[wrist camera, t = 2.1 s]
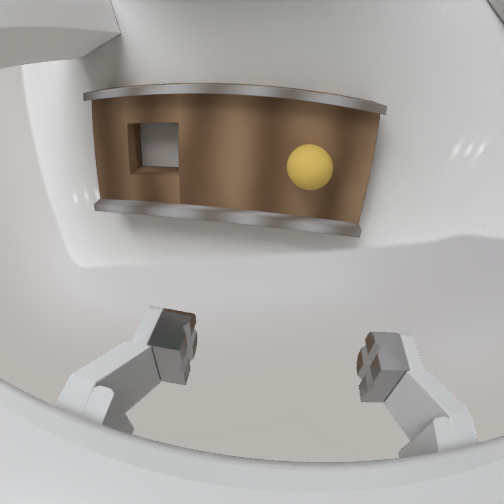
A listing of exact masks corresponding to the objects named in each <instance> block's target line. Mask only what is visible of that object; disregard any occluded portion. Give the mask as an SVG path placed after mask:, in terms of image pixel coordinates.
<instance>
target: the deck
mask: <svg viewBox="0 0 504 504" xmlns="http://www.w3.org/2000/svg"><path fill="white" fill-rule="evenodd" d="M83 100H84V101H86V100H92V119H93V134H94V146H95V157H96V167H97V175H98V183H99V191H100V198H101V199H100V200H98V201H97V202H96V203H95V204H94V207H95V211H105V212H118V213H131V214H143V215H155V216H166V217H177V218H188V219H199V220H209V221H219V222H229V223H239V224H248V225H257V226H267V227H276V228H284V229H293V230H302V231H310V232H318V233H327V234H335V235H343V236H350V237H358V238H359V237H360V234H361V229H360V226H359V224H358V223H359V219H360V215H361V211H362V206H363V202H364V198H365V193H366V189H367V184H368V179H369V174H370V170H371V165H372V160H373V154H374V149H375V144H376V138H377V132H378V126H379V120H380V114H383V115H386V109H387V106H385V105H382V104H379V103H376V102H373V101H368V100H363V99H358V98H353V97H348V96H342V95H337V94H331V93H324V92H318V91H310V90H303V89H295V88H286V87H275V86H264V85H249V84H228V83H173V84H152V85H138V86H127V87H117V88H108V89H102V90H97V91H92V92H87V93H83ZM140 123H179V167H155V166H142V159H141V138H140ZM306 144H312V145H317V146H319V147H321V148H323V149H324V150H325V151H326V152H327V153H328V154H329V156H330V157H331V160H332V163H333V173H332V176H331V178H330V180H329V181H328V183H327V184H326V185H324V186H323V187H321V188H319V189H316V190H305V189H302V188H300V187H298V186H296V185H295V184H294V183H293V182H292V181H291V179H290V178H289V175H288V172H287V161H288V158H289V156H290V154H291V153H292V152H293V151H294V150H295V149H296V148H298V147H300V146H302V145H306Z"/></svg>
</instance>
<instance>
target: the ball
mask: <svg viewBox="0 0 504 504" xmlns="http://www.w3.org/2000/svg"><path fill="white" fill-rule="evenodd" d="M287 172H288V175H289V178H290V179H291V181H292V182H293V183H294V184H295V185H296V186H298V187H300V188H302V189H305V190H316V189H319V188H321V187H323V186H324V185H326V184H327V183H328V181H329V180H330V178H331V176H332V173H333V163H332V160H331V157H330V156H329V154H328V153H327V152H326V151H325V150H324V149H323V148H321V147H319V146H317V145H312V144H306V145H302V146H300V147H298V148H296V149H295V150H294V151H293V152H292V153H291V154H290V156H289V158H288V161H287Z"/></svg>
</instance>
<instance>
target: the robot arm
mask: <svg viewBox="0 0 504 504" xmlns="http://www.w3.org/2000/svg"><path fill="white" fill-rule="evenodd" d="M488 1H489V2H490V4H491V5H492V7H493V8H494V9H495V11H496V12H497V14H498V15H499V16H500V18H501V19H502V20H503V22H504V0H488ZM195 324H196V316H195V314H193V313H187V312H182V311H177V310H171V309H166V308H159V307H155V306H150V307H149V308H148V309H147V310H146V312H145V314H144V316H143V318H142V320H141V322H140V324H139V326H138V328H137V330H136V332H135V334H134V336H133V338H132V340H131V341H125V342H124V343H122V344H120V345H119V346H117V347H115V348H114V349H112V350H110V351H109V352H107V353H106V354H104V355H102V356H101V357H99V358H97V359H96V360H94V361H93V362H91V363H89V364H88V365H86V366H84V367H83V368H81V369H80V370H78V371H76V372H74V373H73V374H71V376H70V378H69V380H68V381H67V383H66V385H65V387H64V389H63V391H62V393H61V395H60V397H59V399H58V400H57V402H56V404H55V406H53V405H51V404H49V403H47V402H45V401H43V400H41V399H39V398H36V397H34V396H32V395H30V394H28V393H26V392H24V391H22V390H21V389H19V388H17V387H15V386H13V385H11V384H9V383H7V382H5V381H4V380H2V379H0V504H504V436H501V437H498V438H494V439H492V440H488V441H484V442H480V443H478V439H477V435H476V431H475V428H474V424H473V421H472V417H471V413H470V411H469V410H468V409H467V408H466V407H465V406H464V405H463V404H462V403H461V402H460V401H458V399H457V398H456V397H454V395H453V394H452V393H451V392H450V391H449V390H447V389H446V388H445V387H444V386H443V385H442V384H441V383H440V382H439V381H438V380H437V379H436V378H435V377H434V376H433V375H432V374H431V373H430V372H429V371H424V368H423V365H422V361H421V358H420V355H419V352H418V349H417V346H416V343H415V340H414V337H413V335H412V334H411V333H387V332H370V333H369V334H368V335H367V337H366V339H365V341H366V346H364V347H363V348H361V350H360V352H359V354H358V359H357V374H358V376H359V377H360V378H361V379H362V381H361V383H360V385H359V390H360V397H361V402H384V405H385V406H386V407H387V409H388V410H389V411H390V413H391V414H392V415H393V417H394V418H395V420H396V421H397V422H398V424H399V425H400V427H401V428H402V430H403V431H404V432H405V434H406V435H407V437H408V438H409V439H410V442H409V443H408V444H407V445H406V446H404V447H403V448H402V449H401V450H400V451H399V458H395V459H385V460H374V461H358V462H290V461H274V460H263V459H262V460H261V459H253V458H244V457H236V456H228V455H222V454H216V453H209V452H204V451H198V450H193V449H188V448H184V447H179V446H174V445H170V444H166V443H162V442H158V441H154V440H150V439H146V438H143V437H139V436H136V435H132V433H133V430H134V428H133V426H132V424H131V423H130V421H129V420H128V417H127V416H126V414H125V413H126V412H127V411H128V410H129V409H130V408H131V407H132V406H134V405H135V404H136V403H137V402H138V401H140V400H141V399H142V398H143V397H144V396H145V395H147V394H148V393H149V392H150V391H151V390H152V389H153V388H155V387H156V386H157V385H158V384H159V383H160V382H161V381H165V382H170V383H176V384H182V385H186V382H187V379H188V376H189V372H190V361H191V360H192V359H193V358H194V355H195V352H196V346H197V331H196V330H195V329H194V327H195Z"/></svg>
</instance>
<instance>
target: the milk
mask: <svg viewBox="0 0 504 504" xmlns="http://www.w3.org/2000/svg"><path fill="white" fill-rule="evenodd" d="M119 34H121V32H120V29H119V26H118V23H117V20H116V17H115V14H114V11H113V8H112V5H111V2H110V0H0V69H1V68H6V67H12V66H17V65H24V64H31V63H39V62H47V61H57V60H69V59H81V58H82V57H84V56H85V55H87V54H88V53H90V52H91V51H93V50H94V49H96V48H98V47H99V46H101V45H102V44H104V43H106V42H107V41H109V40H111V39H112V38H114V37H116V36H117V35H119Z"/></svg>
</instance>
